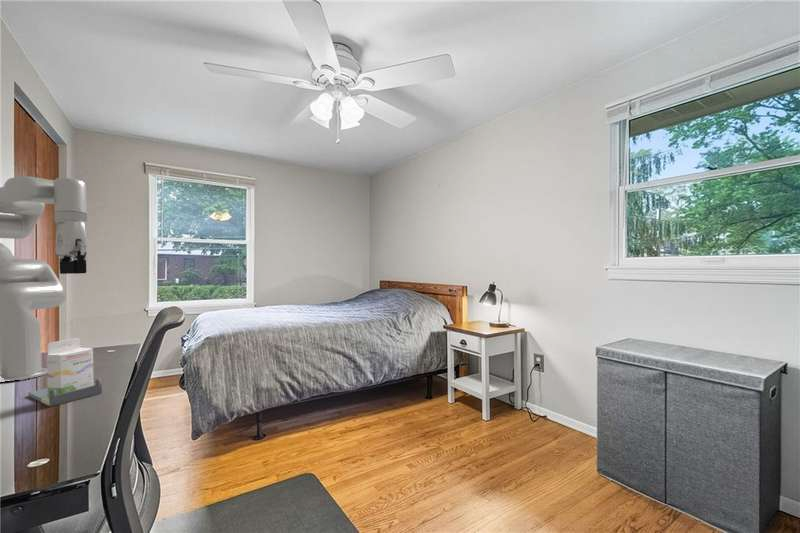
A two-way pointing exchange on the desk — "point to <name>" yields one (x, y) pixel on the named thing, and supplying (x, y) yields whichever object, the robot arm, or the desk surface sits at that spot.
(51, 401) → the tray
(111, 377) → the desk surface
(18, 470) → the desk surface
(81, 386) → the ink box
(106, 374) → the desk surface
